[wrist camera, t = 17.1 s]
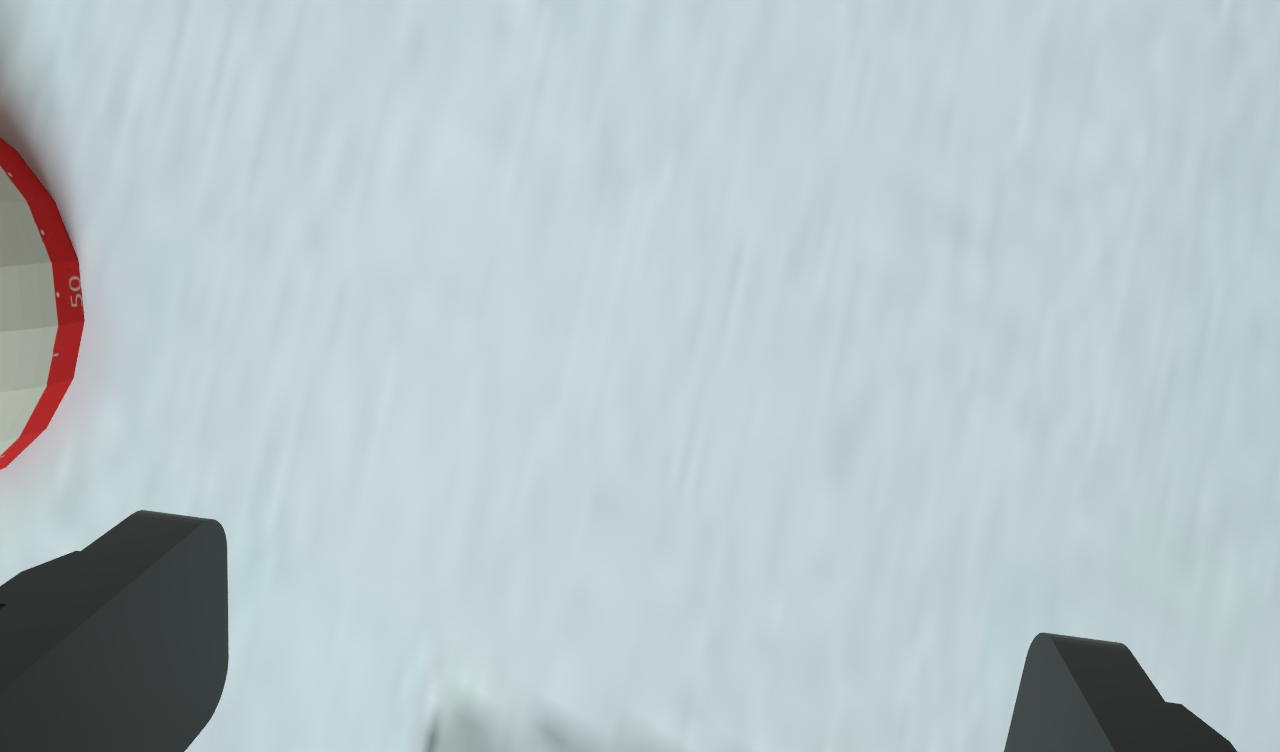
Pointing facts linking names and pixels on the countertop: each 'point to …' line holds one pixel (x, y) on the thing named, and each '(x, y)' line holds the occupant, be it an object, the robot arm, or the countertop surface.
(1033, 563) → the countertop surface
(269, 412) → the countertop surface
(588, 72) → the countertop surface
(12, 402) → the white and red dome
